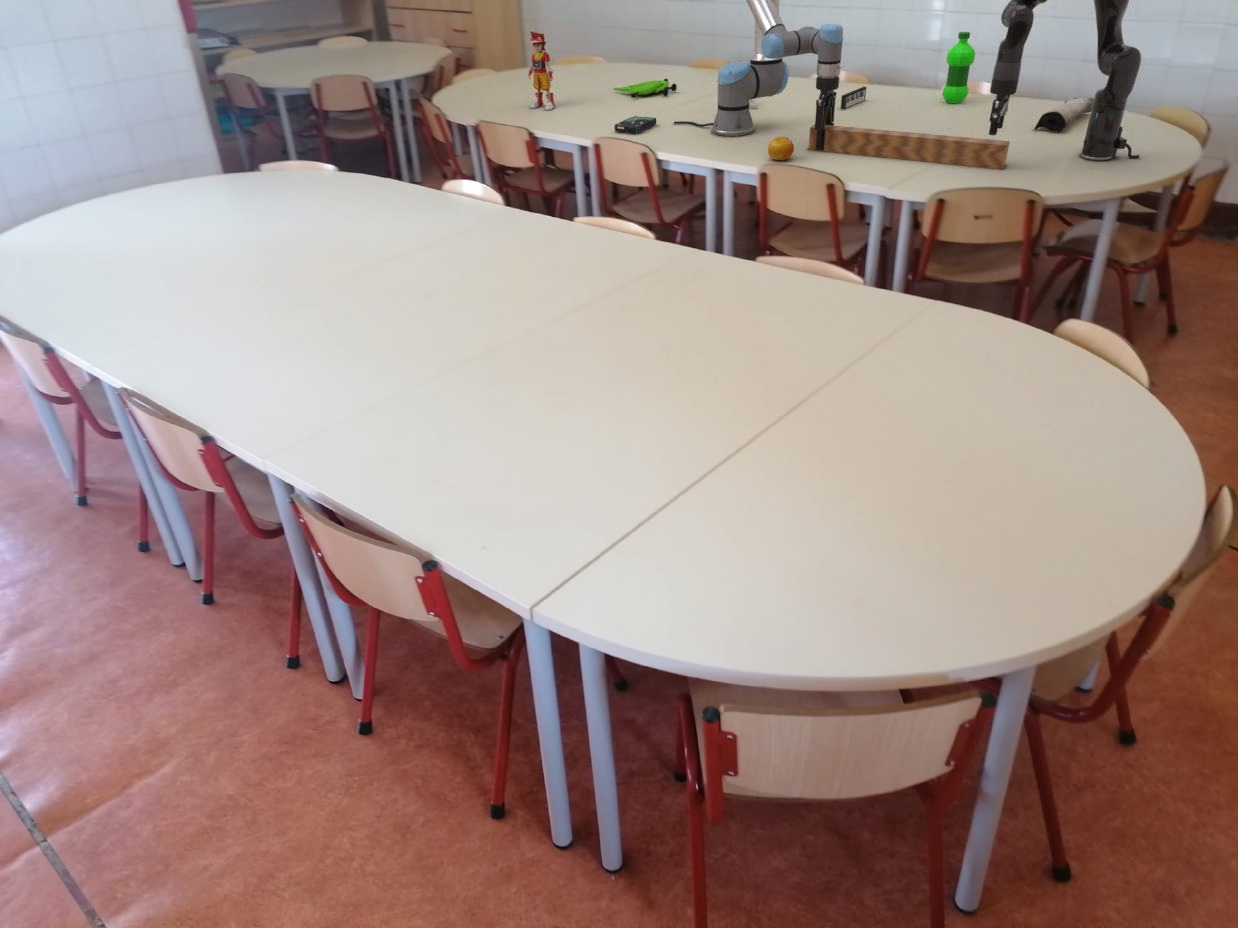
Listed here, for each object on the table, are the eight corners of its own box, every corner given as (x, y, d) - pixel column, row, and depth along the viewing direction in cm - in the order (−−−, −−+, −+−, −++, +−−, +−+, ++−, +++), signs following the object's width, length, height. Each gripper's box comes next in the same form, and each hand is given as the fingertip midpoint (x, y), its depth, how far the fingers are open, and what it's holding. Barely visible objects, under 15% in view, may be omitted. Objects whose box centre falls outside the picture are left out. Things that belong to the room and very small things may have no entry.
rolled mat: (1062, 101, 334) (1086, 84, 326) (1075, 122, 335) (1100, 105, 327) (1030, 123, 317) (1055, 105, 309) (1044, 145, 318) (1070, 128, 309)
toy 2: (686, 85, 398) (631, 84, 414) (685, 72, 395) (629, 72, 411) (651, 104, 381) (596, 103, 397) (650, 92, 378) (594, 91, 394)
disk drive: (637, 135, 339) (656, 124, 349) (637, 127, 338) (656, 117, 348) (614, 132, 344) (634, 122, 354) (613, 125, 343) (633, 115, 353)
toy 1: (525, 109, 381) (517, 32, 364) (534, 104, 388) (527, 28, 371) (550, 110, 377) (543, 32, 360) (559, 105, 384) (553, 28, 367)
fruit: (761, 151, 301) (775, 129, 298) (766, 153, 309) (779, 132, 306) (781, 165, 300) (795, 143, 297) (786, 167, 307) (800, 146, 304)
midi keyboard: (843, 109, 354) (844, 96, 351) (840, 109, 355) (841, 95, 352) (865, 100, 365) (866, 87, 362) (862, 99, 365) (863, 86, 362)
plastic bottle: (973, 101, 354) (984, 32, 339) (955, 106, 349) (966, 36, 335) (952, 97, 361) (962, 29, 346) (934, 102, 356) (944, 33, 342)
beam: (808, 149, 312) (809, 127, 308) (813, 145, 316) (815, 124, 312) (1001, 169, 284) (1006, 145, 280) (1005, 165, 287) (1009, 141, 283)
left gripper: (829, 83, 291) (823, 155, 304) (847, 71, 303) (841, 141, 317) (807, 81, 294) (802, 153, 307) (826, 70, 307) (821, 139, 320)
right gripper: (1014, 82, 266) (1003, 138, 275) (1023, 72, 275) (1012, 127, 285) (987, 80, 269) (977, 136, 278) (997, 71, 279) (987, 125, 288)
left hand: (822, 147), depth 312 cm, fingers closed on beam, 5 cm apart
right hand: (995, 131), depth 281 cm, fingers open, 8 cm apart
